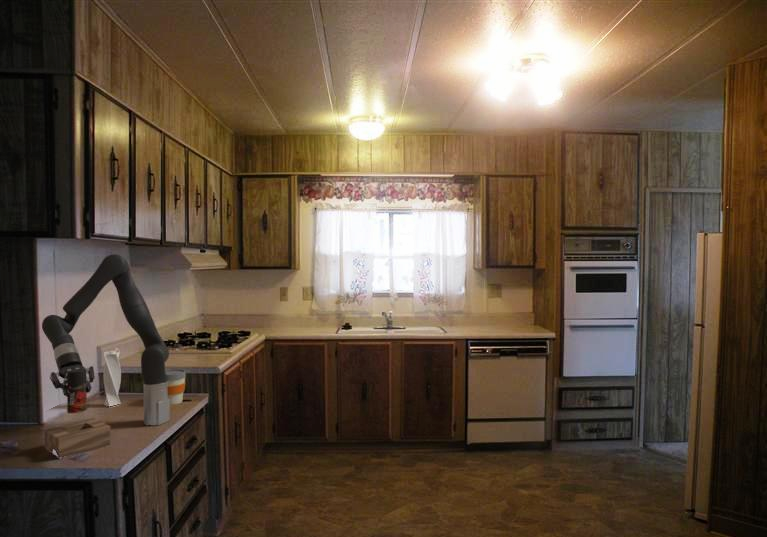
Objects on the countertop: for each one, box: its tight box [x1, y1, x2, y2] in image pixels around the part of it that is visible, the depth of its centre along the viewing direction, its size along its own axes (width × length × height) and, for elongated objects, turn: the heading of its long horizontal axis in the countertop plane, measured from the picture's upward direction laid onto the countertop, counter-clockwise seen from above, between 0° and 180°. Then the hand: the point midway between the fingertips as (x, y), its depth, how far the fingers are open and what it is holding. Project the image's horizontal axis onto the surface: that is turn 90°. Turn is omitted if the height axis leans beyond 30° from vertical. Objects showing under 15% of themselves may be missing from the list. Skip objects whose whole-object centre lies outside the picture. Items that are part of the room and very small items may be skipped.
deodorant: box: [66, 369, 88, 414], centre depth 164 cm, size 6×6×15 cm
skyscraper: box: [102, 347, 122, 408], centre depth 216 cm, size 8×8×28 cm
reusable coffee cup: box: [165, 369, 187, 406], centre depth 219 cm, size 13×12×15 cm
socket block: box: [44, 417, 111, 458], centre depth 164 cm, size 16×16×7 cm
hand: (78, 393), depth 163 cm, fingers closed on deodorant, 6 cm apart
